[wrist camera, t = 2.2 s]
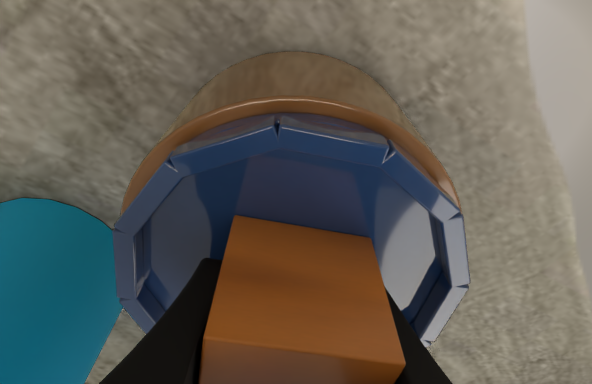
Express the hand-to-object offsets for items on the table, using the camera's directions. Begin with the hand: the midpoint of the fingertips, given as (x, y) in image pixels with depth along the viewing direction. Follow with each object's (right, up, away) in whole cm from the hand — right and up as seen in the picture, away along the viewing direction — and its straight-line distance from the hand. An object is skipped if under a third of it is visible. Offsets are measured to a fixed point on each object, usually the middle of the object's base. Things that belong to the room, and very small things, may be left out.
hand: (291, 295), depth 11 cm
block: (0, 0, +1) cm, 1 cm away
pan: (0, +4, +6) cm, 7 cm away
